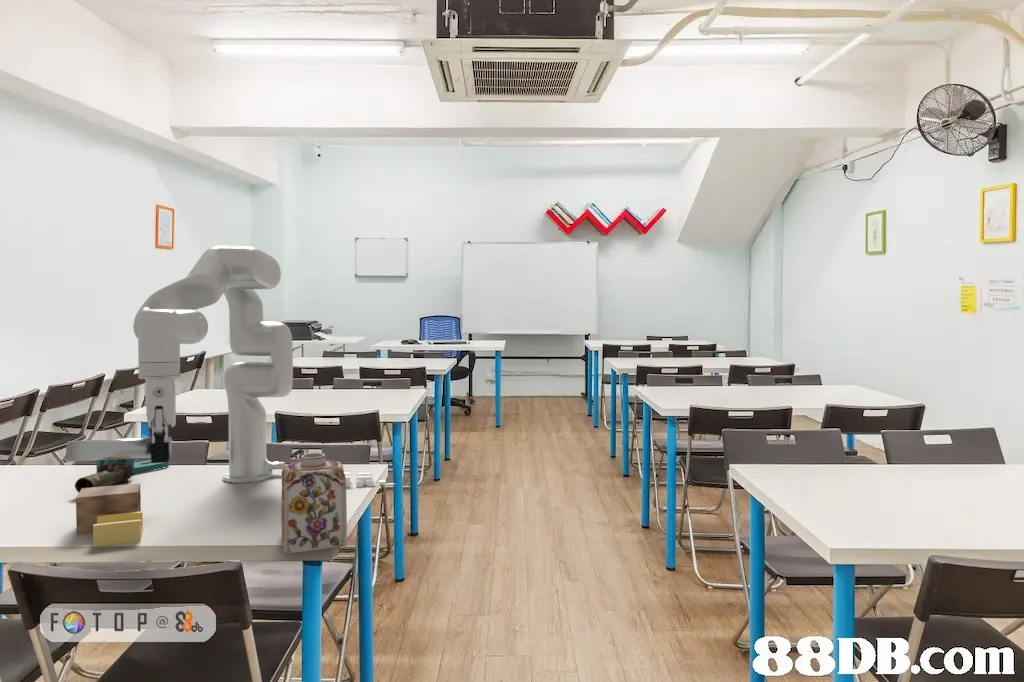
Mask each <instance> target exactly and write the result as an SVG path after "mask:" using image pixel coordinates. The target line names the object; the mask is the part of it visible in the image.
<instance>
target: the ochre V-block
mask: <svg viewBox="0 0 1024 682" xmlns="http://www.w3.org/2000/svg"><path fill="white" fill-rule="evenodd" d="M143 512H144V511H143V510H141V511H140V512H130V513H120V514H111V515H101V516H97V524H94V525H93V534H92V535H93V536H92V539H93V543H92V544H93V545H92V546H93V548H99V547H105V546H107V547H108V546H112V545H122V544H127V543H128V544H130V543H137V542H141V541H142V536H143V531H144V525H143V523H144V520H143V519H144V517H143V516H144V515H143V514H144V513H143Z"/></svg>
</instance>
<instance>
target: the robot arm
mask: <svg viewBox="0 0 1024 682" xmlns="http://www.w3.org/2000/svg"><path fill="white" fill-rule="evenodd" d="M281 271H282V270H281V267H280V264H279V263H278V261H277V259H276V258H275V257H273V256H272V255H270V254H268V253H266V252H264V251H263V250H262V249H259V248H256V247H253V246H240V245H239V246H237V245H232V246H230V245H219V246H218V245H216V246H212V247H209V248H208V249H206V250H205V251H204V252H203V253H202V255H201V256H200V258H198V260H197V262H196V263H195V264H194V266H193V267H192V269H191V270H190V271H189V273H187V275H186V277H184V278H181V279H179V280H177V281H174V282H173V283H170V284H169V285H167V286H164V287H163V288H161V289H159V290H156V291H155V292H154V293H152V294H151V295H150V296H149V297H147V299H145V301H144V302H143V304H142V305H141V307H140V308H139V309H138V311H137V312H136V314H135V317H134V319H133V324H132V325H133V326H132V329H133V333H134V335H135V338H136V339H137V343H138V344H137V346H138V347H137V351H138V353H137V354H138V355H137V356H138V357H137V361H138V362H137V363H138V364H137V365H138V366H137V367H138V379H140V380H145V411H146V421H147V427H148V428H149V429H151V437H152V443H151V457H150V460H151V462H152V463H163V462H168V461H169V462H170V456H169V442H167V437H169V426H171V428H174V427H175V426H176V421H177V420H176V418H177V417H176V416H177V415H176V412H177V411H176V407H177V406H176V404H177V403H176V383H175V381H176V380H175V379H177V378H180V377H181V345H194V344H197V343H200V342H201V341H203V340H204V339H205V337H206V336H207V335H208V331H209V322H208V320H207V318H206V316H205V315H204V314H203V313H202V312H201V311H199V309H203V308H206V307H209V306H213V305H215V304H216V303H217V302H218V301H219V300H220V299H221V297H222V296H223V295H224V296H225V299H226V301H227V304H228V312H229V313H228V315H229V316H228V317H229V327H228V328H229V345H230V346H229V347H230V350H231V352H232V353H233V355H235V356H238V357H244V358H245V357H246V358H247V357H248V358H252V357H253V358H270V359H271V362H269V361H268V362H267V361H263V362H262V361H239V362H238V361H237V362H235V363H232V364H230V365H229V366H228V367H227V368H226V370H225V372H224V375H223V376H224V377H223V381H224V388H225V392H226V393H225V394H226V397H227V407H228V412H227V413H228V472H226V473H224V474H223V475H222V480H223V481H224V482H226V483H230V482H232V483H233V484H247V483H246V482H251V483H256V481H258V482H262V481H261V480H263V481H266V480H269V479H271V478H272V477H273V476H272V475H274V474H273V470H283V467H284V466H285V465H286V464H285V462H284V461H280V462H279V461H269V460H268V458H267V413H266V409H265V407H264V406H263V404H262V402H261V401H260V400H259V398H284V397H286V396H287V397H288V395H290V393H291V391H292V389H293V385H294V384H293V383H294V370H293V369H294V362H293V361H294V359H293V358H294V357H293V353H294V351H293V349H294V348H293V335H292V331H291V329H290V328H289V326H288V325H287V324H285V323H284V322H279V321H265V320H264V303H263V302H262V299H261V297H260V296H259V294H258V293H257V292H256V291H255V290H272V289H274V288H276V287H277V286H278V285H279V283H280V281H281V277H282V273H281ZM271 476H272V477H271ZM270 477H271V478H270ZM268 478H269V479H268ZM265 479H266V480H265ZM232 483H231V484H232Z"/></svg>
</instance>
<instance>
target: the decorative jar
mask: <svg viewBox="0 0 1024 682" xmlns="http://www.w3.org/2000/svg"><path fill="white" fill-rule="evenodd" d="M284 465H285V466H284V467H283V469H281V505H280V506H281V507H280V510H281V511H280V513H281V514H280V515H281V521H280V522H281V536H282V546H283V547H282V548H283V549H282V550H283V554H294V553H300V552H309V551H315V550H325V549H333V548H340V547H347V537H348V535H347V532H348V531H347V527H348V524H347V523H348V522H347V521H348V518H347V517H348V515H347V514H348V513H347V512H348V511H347V508H348V507H347V505H348V504H347V487H346V478H345V474H344V472H345V470H344V465H343V463H341V461H335V460H333V459H327V458H326V454H325V453H323V452H312V453H311V452H310V453H305V454H302V455H301V456H300V460H299V461H294V462H291V463H288V464H284Z"/></svg>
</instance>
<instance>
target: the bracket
mask: <svg viewBox="0 0 1024 682" xmlns="http://www.w3.org/2000/svg"><path fill="white" fill-rule="evenodd" d="M134 459H135V458H131V459H113V460H95V461H96V463H95V464H96V473H97V472H98V468H99V466H101V465H102V464H106V463H108V462H111V463H112V462H116V461H117V463H120V462H122V463H125V464H127V465H131V466H133V468H132V473H133V474H134V475H137V474H138V473H139V474H143V473H142V472H144V473H147V472H146V471H149V472H151V471H150V470H154V469H158V468H163V467H167V468H169V467H170V460H169V461H168V462H163V463H152V462H151V459H148V460H142V461H137V462H135V460H134ZM168 466H169V467H168ZM154 471H155V470H154Z"/></svg>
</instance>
